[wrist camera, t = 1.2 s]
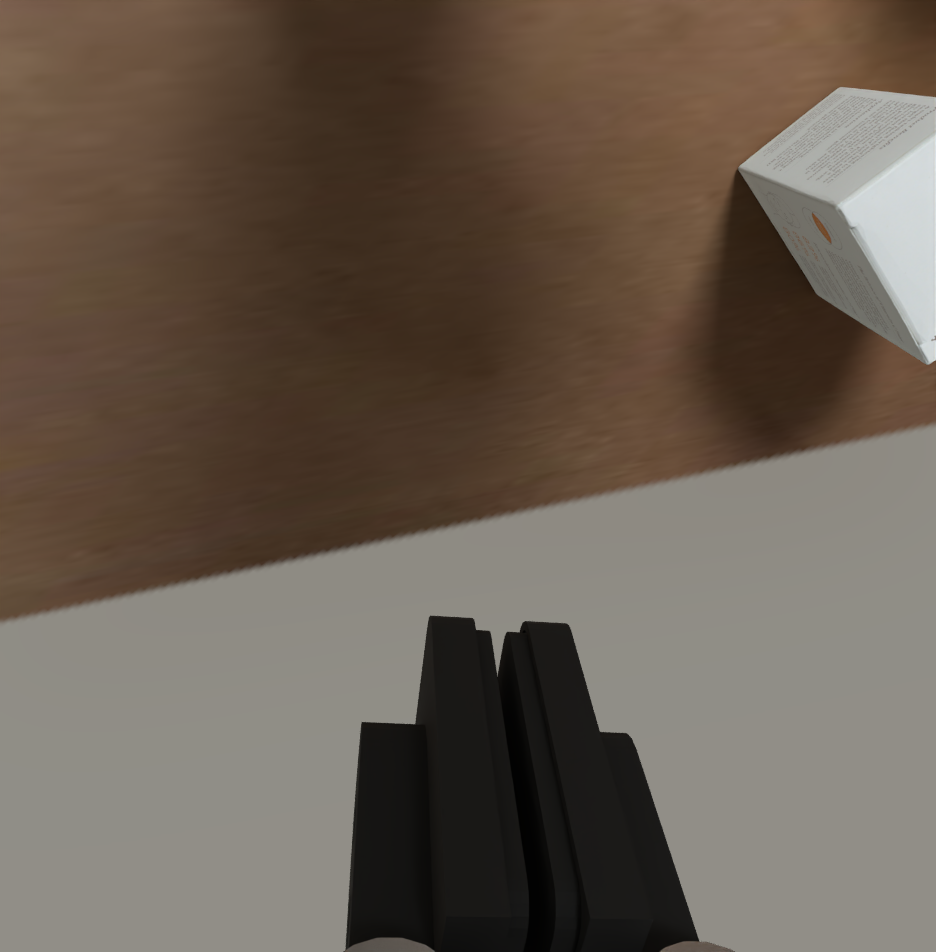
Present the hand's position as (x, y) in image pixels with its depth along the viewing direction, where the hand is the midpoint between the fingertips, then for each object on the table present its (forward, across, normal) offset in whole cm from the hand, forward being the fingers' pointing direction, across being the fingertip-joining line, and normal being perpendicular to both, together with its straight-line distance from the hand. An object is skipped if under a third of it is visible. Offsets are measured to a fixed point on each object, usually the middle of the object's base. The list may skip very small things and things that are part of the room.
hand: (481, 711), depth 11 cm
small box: (+32, -19, -3) cm, 37 cm away
